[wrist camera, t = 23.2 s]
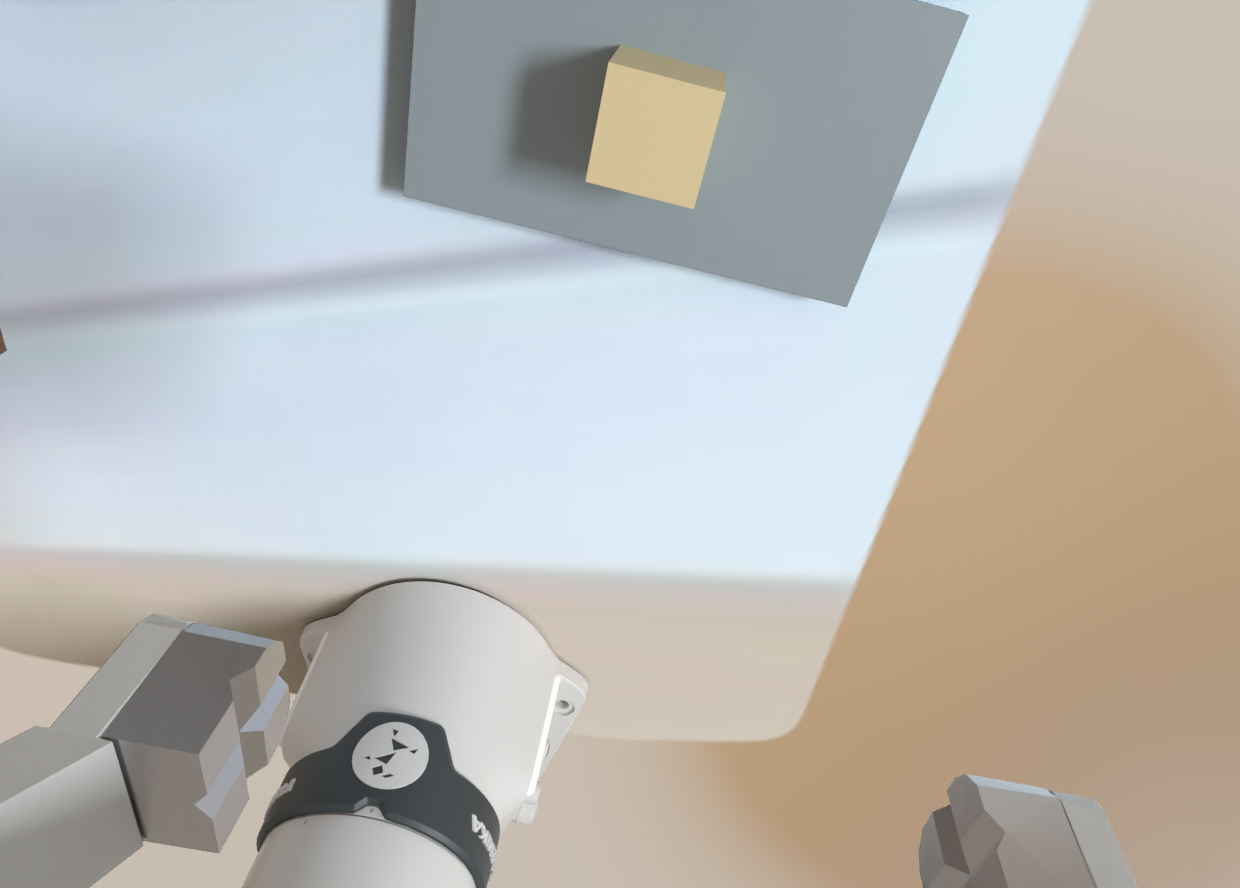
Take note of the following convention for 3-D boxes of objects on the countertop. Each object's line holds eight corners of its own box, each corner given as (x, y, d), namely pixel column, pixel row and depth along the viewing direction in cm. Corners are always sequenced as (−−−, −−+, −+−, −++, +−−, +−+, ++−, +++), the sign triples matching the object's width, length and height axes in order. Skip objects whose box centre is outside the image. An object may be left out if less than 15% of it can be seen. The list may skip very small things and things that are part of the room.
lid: (840, 287, 36) (860, 350, 31) (419, 181, 35) (369, 227, 30) (953, 8, 30) (1002, 30, 25) (442, -128, 29) (384, -136, 24)
